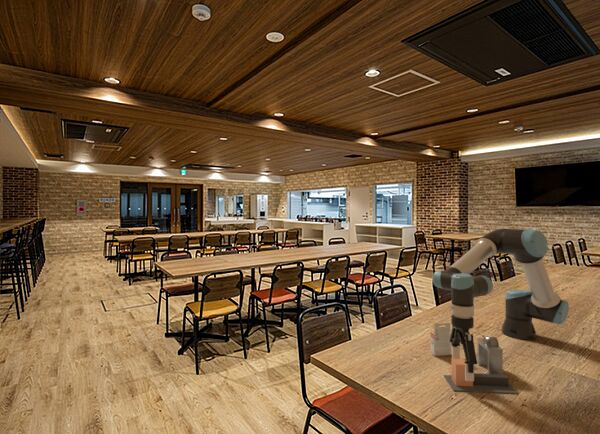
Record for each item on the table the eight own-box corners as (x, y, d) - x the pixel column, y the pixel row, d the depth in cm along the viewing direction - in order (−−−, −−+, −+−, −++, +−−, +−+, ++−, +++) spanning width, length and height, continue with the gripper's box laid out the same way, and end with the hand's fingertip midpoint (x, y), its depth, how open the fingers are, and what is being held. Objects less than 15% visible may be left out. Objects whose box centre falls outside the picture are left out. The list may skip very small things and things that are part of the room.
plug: (503, 381, 126) (503, 360, 126) (510, 388, 121) (510, 366, 121) (451, 379, 128) (451, 358, 128) (456, 385, 123) (456, 364, 123)
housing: (489, 364, 141) (489, 332, 141) (502, 377, 130) (502, 343, 130) (477, 363, 142) (477, 332, 141) (489, 376, 131) (489, 342, 130)
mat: (502, 378, 129) (502, 377, 129) (518, 393, 118) (518, 392, 118) (443, 376, 131) (443, 375, 131) (453, 391, 121) (453, 390, 121)
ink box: (430, 352, 153) (430, 321, 152) (446, 352, 154) (446, 320, 153) (434, 356, 149) (434, 324, 149) (451, 355, 150) (451, 323, 150)
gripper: (441, 305, 138) (441, 356, 138) (464, 326, 113) (464, 388, 113) (460, 306, 137) (460, 357, 137) (488, 327, 112) (487, 389, 113)
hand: (462, 371), depth 125 cm, fingers open, 13 cm apart
